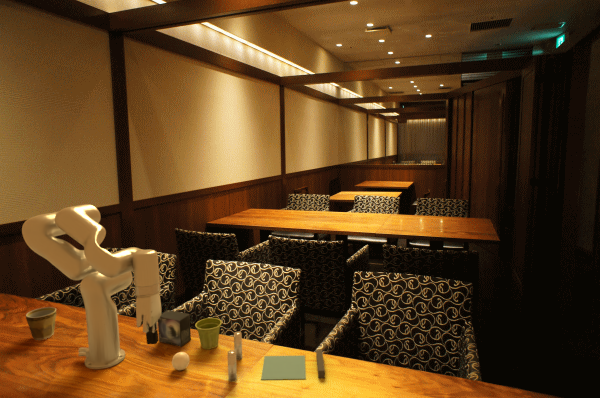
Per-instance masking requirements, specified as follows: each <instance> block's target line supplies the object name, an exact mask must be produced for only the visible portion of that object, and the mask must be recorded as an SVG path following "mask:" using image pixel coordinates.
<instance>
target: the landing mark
mask: <svg viewBox="0 0 600 398" xmlns="http://www.w3.org/2000/svg"><path fill="white" fill-rule="evenodd" d="M261 371H262V372H261V376H260V377H261V379H260V381H271V380H272V381H274V380H275V381H276V380H281V381H282V380H283V379H288V380H307V373H306V355H265V356H264V358H263V363H262V370H261ZM283 381H284V380H283Z"/></svg>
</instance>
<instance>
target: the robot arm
mask: <svg viewBox="0 0 600 398" xmlns="http://www.w3.org/2000/svg"><path fill="white" fill-rule="evenodd" d="M101 219H102V218H101V212H100V211H99V209H98V207H96V206H94V205H92V204H89V203H85V204H79V205H73V206H68V207H67V206H66V207H64V208H62V209H60V210H59V211H54V212H49V213H42V214H38V215H36V216H35V215H34V216H31V217H30V218H28V219H27V220H25V221H24V223H23V224H22V228H21V234H22V237H23V240H24V241H25V244H26V245H27V246H28V248H29V249H31V251H33V252H34V253H35V254H37V255H38V256H40V257H42V258H43V259H45V260H47V261H48V262H49V263H50V264H51V265H52V266H54V267H55V268H56V269H58V271H60V272H61V273H62V274H63V275H65V276H66V277H67V278H68V279H70V280H73V281H80V280H81V282H80V285H79V290H80V294H81V297H82V301H83V304H84V309H85V311H84V312H85V320H86V331H87V341H88V347H79V348H78V357H84V358H85V359H84V365H85V367H86V368H88V369H90V370H101V369H103V370H104V369H107V368H111V367H113V366H116V365H118V364H119V363H121V362H122V361H123V360H124V359H125V357H126V351H125V350H124V349H122V348H121V344H120V332H119V331H120V329H119V318H118V315H119V314H118V308H117V304H116V303H115V302H114V301H113V299H112V297H111V296H113V295H115V294H117V293H119V292H121V291H123V290H126V289H127V288H128V287H130V286H131V284H132V281H134V289H135V290H134V291H135V292H134V293H135V296H136V303H135V312H136V313H135V314H136V315H135V317H136V327H137V328H141V327H142V332H143V333H145V339H146V344H147V345H156V344H158V342H159V332H158V319H159V318H160V316H161V314H162V302H161V301H162V300H161V297H160V295H161V294H160V293H161V291H162V289H161V280H160V279H161V278H160V267H159V257H158V252H157V250H155V249H141V248H139V247H134V246H133V247H128V248H125V249H120V250H118V251H115V252H110V251H108V249H105V248H103V247H101V246H100V245H101V244H102V243H103V241H104V239H105V237H106V236H107V235H106V234H107V230H106V228H105V227H104V226H103V225H101V224H100V222H101ZM62 235H68V236H69V237H71V238H72V239H73V240H75V241H76V242H77V243H79V244H80V245H82V246H83V249H78V248H76V247H75V246H74V245H73V244H71V243H70V242H68V241H66V240H64V239H62V238H57V237H58V236H62ZM132 273H133V274H132Z"/></svg>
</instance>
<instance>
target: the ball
mask: <svg viewBox="0 0 600 398" xmlns="http://www.w3.org/2000/svg"><path fill="white" fill-rule="evenodd" d="M190 361H191V360H190V355H188V353H186V352H185V351H180V352H177V353H175V354H174V355H173V356H172V360H171V365H172V367H173V369H175V370H176V371H183V370H185V369H186V368H188V366H189V364H190Z"/></svg>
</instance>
